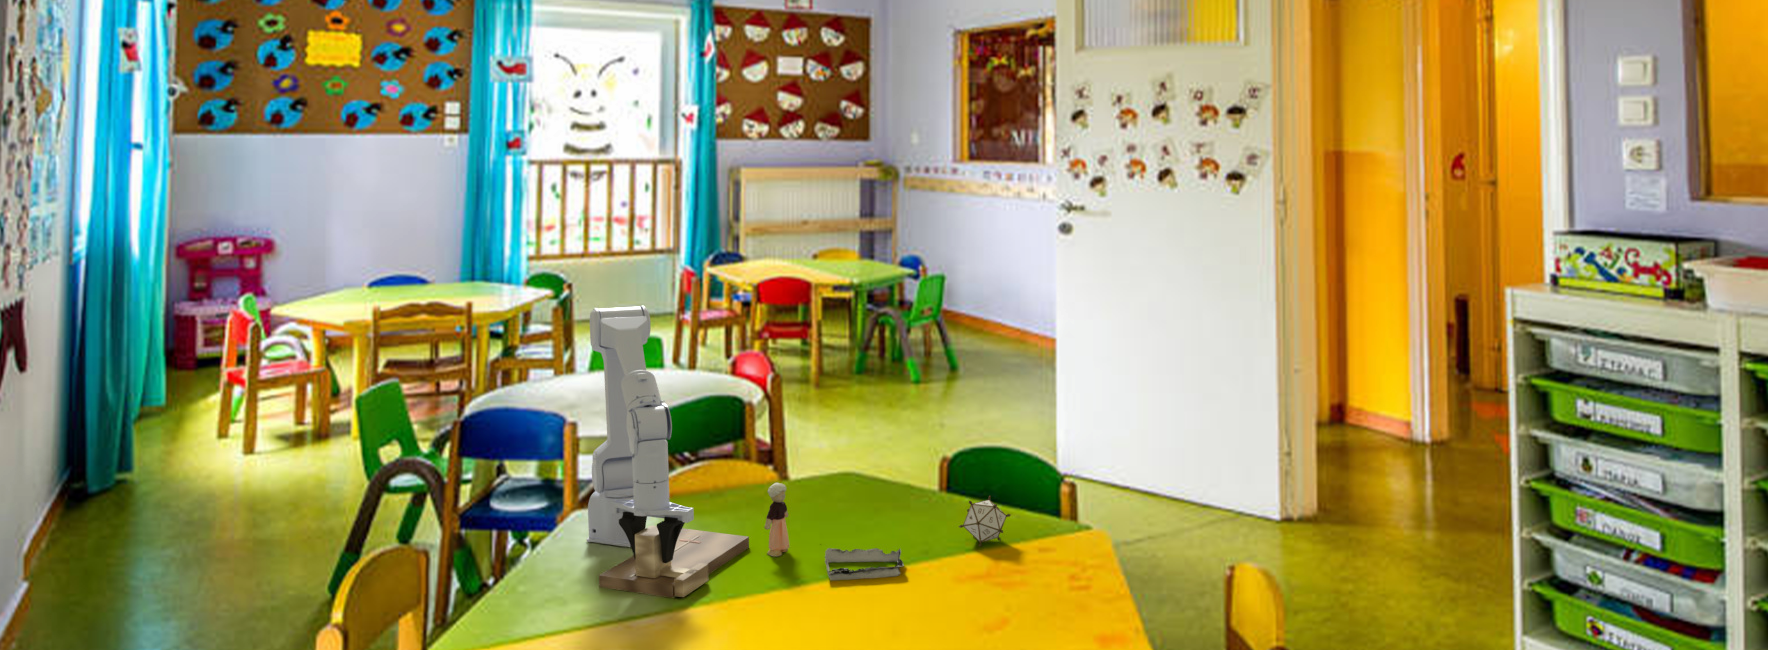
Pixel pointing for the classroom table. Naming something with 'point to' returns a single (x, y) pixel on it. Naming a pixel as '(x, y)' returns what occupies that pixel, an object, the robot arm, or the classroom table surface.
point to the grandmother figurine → (777, 521)
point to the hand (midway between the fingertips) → (653, 559)
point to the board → (677, 562)
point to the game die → (984, 520)
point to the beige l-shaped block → (665, 564)
